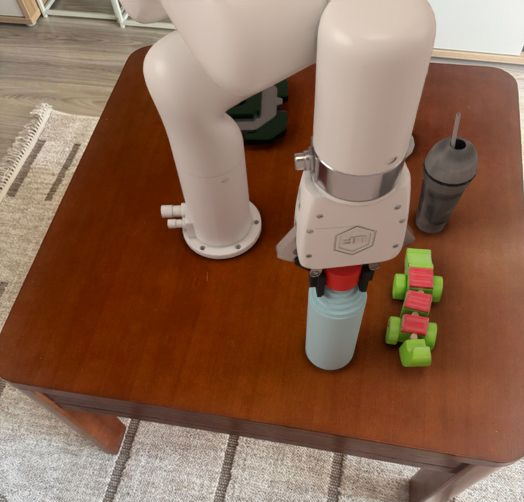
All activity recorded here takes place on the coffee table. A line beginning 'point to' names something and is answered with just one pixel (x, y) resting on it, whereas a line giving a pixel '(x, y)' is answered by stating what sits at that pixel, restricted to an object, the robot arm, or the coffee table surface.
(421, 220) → the beverage cup
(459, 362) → the coffee table surface
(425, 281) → the toy crocodile
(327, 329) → the bottle
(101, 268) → the coffee table surface
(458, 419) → the coffee table surface
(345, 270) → the cap
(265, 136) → the four-lobed dark green device
